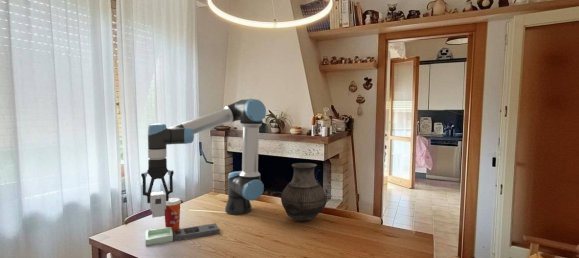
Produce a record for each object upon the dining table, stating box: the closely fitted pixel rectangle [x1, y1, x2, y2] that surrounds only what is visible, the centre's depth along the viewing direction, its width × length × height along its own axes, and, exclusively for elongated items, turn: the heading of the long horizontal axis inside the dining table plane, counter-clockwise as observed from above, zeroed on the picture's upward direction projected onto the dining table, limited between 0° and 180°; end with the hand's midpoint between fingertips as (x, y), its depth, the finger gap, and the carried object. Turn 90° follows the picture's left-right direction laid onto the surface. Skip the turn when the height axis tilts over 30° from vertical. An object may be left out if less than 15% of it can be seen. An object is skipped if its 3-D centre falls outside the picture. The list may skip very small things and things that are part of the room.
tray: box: [145, 226, 174, 246], centre depth 133 cm, size 11×11×2 cm
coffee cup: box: [164, 197, 182, 233], centre depth 142 cm, size 8×8×15 cm
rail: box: [172, 222, 220, 242], centre depth 138 cm, size 20×8×2 cm, turn 116°
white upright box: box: [151, 190, 165, 218], centre depth 132 cm, size 5×5×10 cm
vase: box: [280, 162, 328, 222], centre depth 156 cm, size 25×25×30 cm
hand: (158, 208), depth 132 cm, fingers closed on white upright box, 5 cm apart
